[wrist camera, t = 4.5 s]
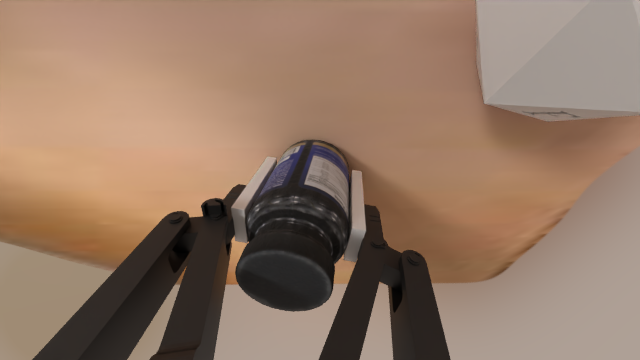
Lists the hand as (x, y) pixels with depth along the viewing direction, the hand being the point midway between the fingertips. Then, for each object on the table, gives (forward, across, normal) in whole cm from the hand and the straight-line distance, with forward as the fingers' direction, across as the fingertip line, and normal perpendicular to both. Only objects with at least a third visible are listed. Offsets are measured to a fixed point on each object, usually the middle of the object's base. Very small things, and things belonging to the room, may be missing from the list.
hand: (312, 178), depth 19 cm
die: (+2, +11, +12) cm, 16 cm away
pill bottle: (+2, 0, 0) cm, 2 cm away
